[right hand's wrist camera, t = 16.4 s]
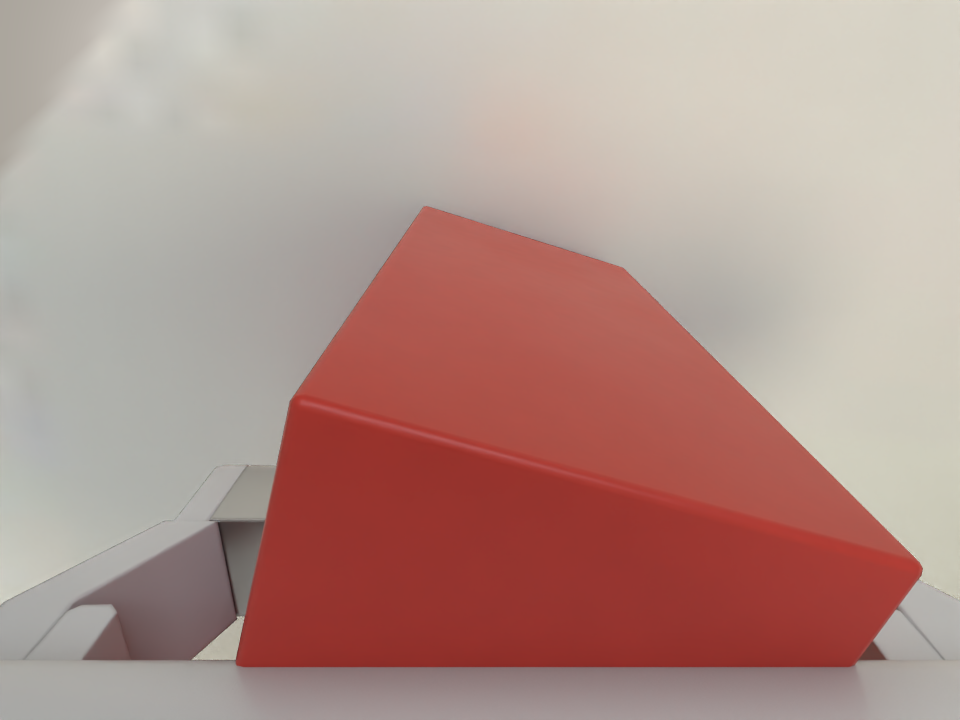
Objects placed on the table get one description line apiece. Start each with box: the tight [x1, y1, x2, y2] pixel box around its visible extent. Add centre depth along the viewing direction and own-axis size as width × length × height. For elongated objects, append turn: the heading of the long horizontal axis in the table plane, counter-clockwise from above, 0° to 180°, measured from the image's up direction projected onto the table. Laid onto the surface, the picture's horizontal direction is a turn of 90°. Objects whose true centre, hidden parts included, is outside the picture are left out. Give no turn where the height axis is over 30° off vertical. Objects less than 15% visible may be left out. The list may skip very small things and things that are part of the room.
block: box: [235, 206, 923, 667], centre depth 11 cm, size 5×7×11 cm
